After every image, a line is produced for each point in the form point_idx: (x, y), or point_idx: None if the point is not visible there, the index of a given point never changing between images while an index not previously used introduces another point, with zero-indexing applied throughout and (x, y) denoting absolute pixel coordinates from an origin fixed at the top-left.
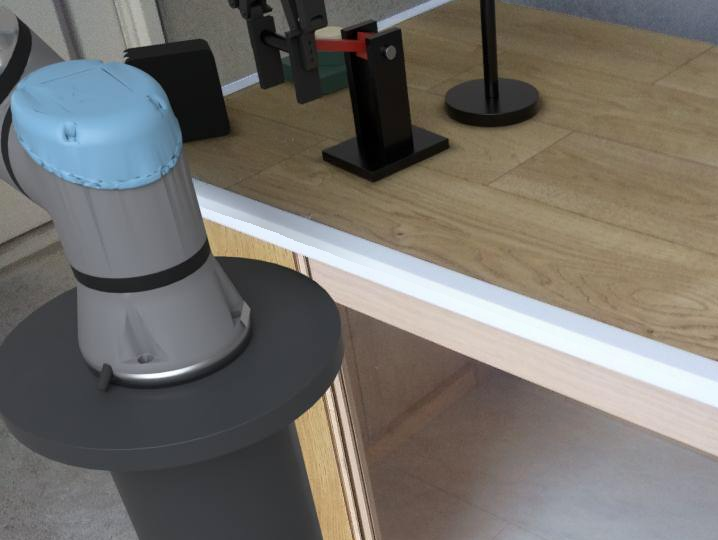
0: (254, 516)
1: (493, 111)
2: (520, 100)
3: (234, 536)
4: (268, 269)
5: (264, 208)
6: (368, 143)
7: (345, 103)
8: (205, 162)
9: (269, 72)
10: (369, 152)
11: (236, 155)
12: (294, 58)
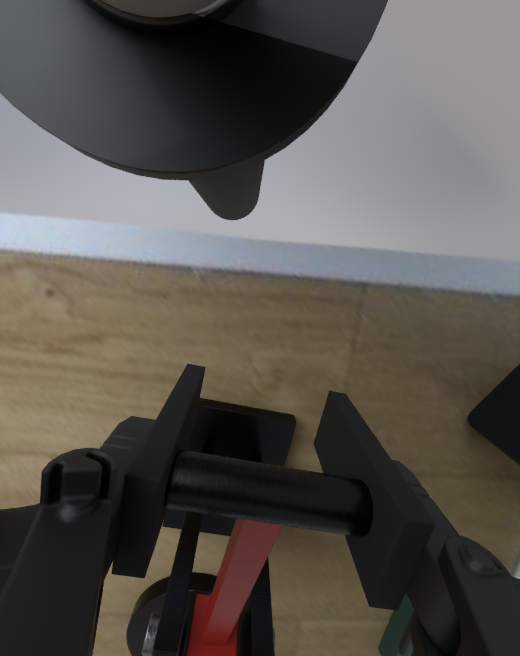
0: None
1: (155, 605)
2: None
3: None
4: (178, 151)
5: (273, 263)
6: None
7: None
8: (446, 335)
9: (333, 430)
10: (230, 448)
11: (417, 373)
12: (155, 424)
